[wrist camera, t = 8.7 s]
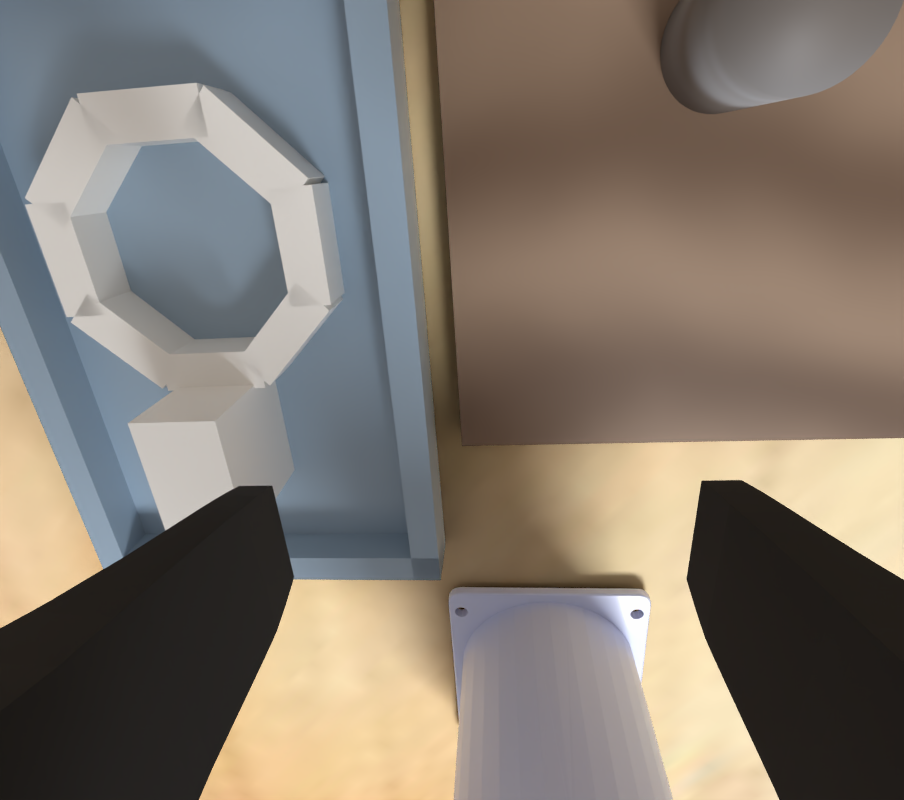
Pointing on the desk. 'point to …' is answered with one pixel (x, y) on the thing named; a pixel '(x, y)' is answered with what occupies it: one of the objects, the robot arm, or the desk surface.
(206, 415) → the ring
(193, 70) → the tray
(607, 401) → the stake board
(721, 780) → the desk surface
